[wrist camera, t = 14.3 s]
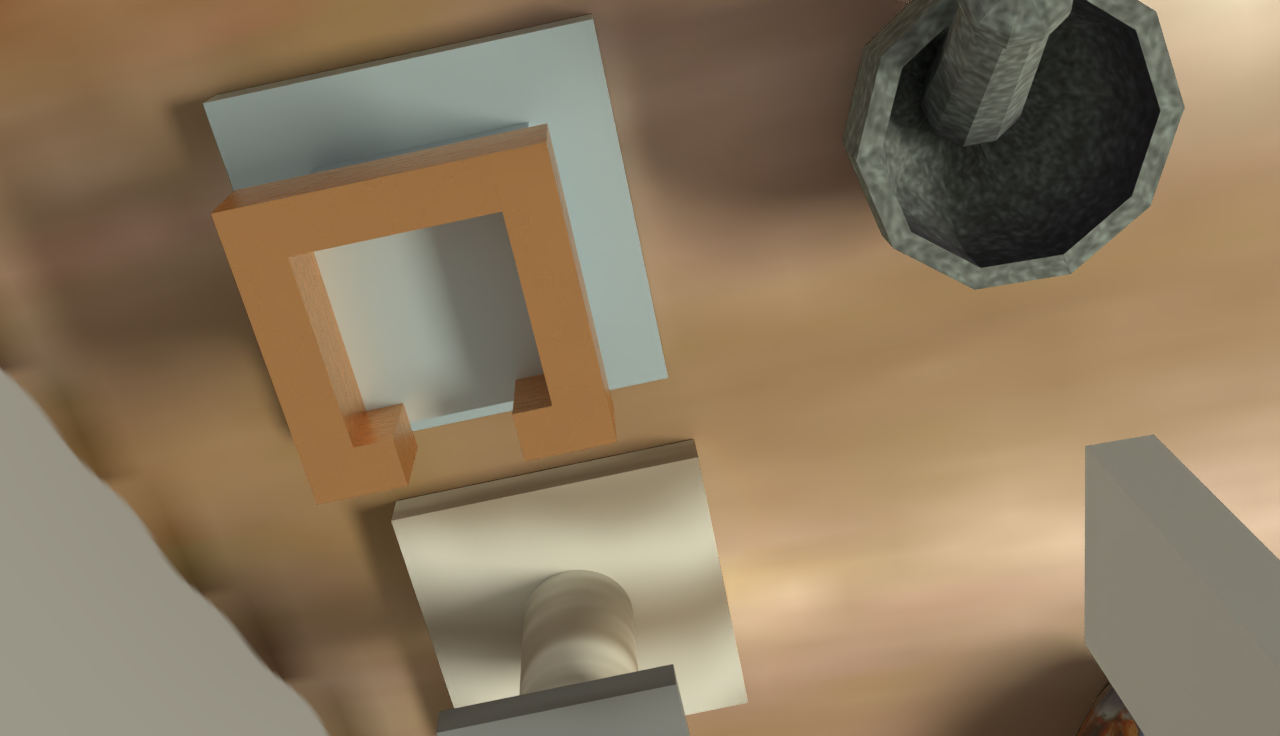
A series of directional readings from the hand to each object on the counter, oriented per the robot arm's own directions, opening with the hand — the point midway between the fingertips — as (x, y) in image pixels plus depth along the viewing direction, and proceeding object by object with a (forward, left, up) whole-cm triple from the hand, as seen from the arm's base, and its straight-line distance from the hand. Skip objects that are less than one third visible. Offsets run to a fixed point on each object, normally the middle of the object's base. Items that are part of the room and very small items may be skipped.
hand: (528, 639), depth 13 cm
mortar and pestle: (+1, +14, -29) cm, 32 cm away
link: (+3, -4, -22) cm, 23 cm away
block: (+3, -4, -29) cm, 30 cm away
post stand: (+19, -3, -29) cm, 35 cm away
